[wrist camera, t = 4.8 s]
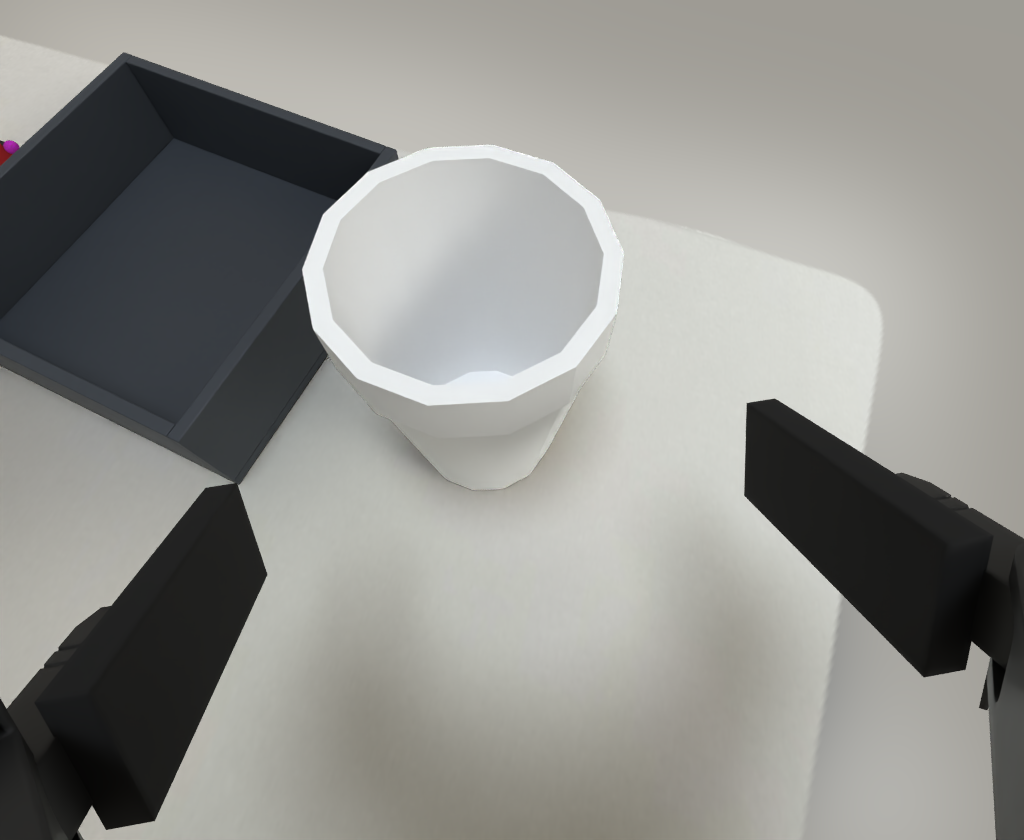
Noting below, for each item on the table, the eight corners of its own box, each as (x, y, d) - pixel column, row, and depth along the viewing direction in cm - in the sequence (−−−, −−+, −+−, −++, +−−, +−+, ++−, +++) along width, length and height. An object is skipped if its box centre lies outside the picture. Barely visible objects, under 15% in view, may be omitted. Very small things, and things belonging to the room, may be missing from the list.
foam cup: (469, 317, 32) (439, 104, 20) (616, 407, 30) (681, 227, 18) (352, 452, 29) (235, 296, 17) (506, 563, 27) (496, 473, 15)
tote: (-28, 351, 31) (-134, 288, 26) (177, 137, 38) (123, 51, 32) (239, 485, 28) (177, 442, 23) (414, 227, 34) (396, 149, 29)
